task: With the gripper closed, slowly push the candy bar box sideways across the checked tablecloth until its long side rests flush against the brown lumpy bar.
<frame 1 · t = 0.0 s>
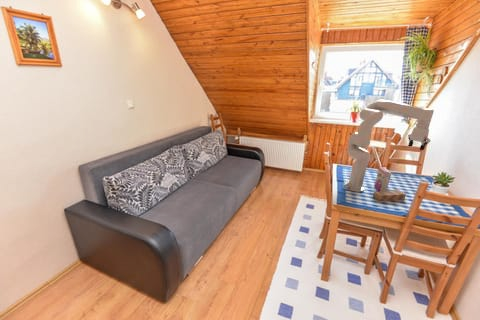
hand: (415, 148, 168), 31 cm above the table, fingers open, 9 cm apart
candy bar box: (379, 189, 171), on the table
brown lumpy bar: (388, 199, 157), on the table
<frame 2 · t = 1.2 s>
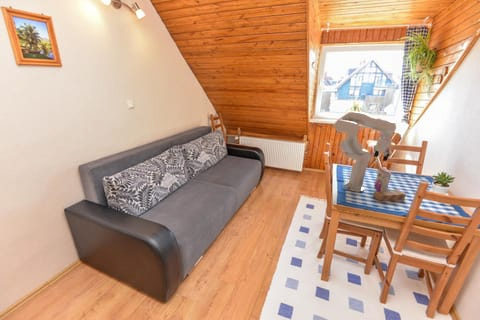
hand: (380, 158, 174), 21 cm above the table, fingers open, 9 cm apart
nothing on the table moved.
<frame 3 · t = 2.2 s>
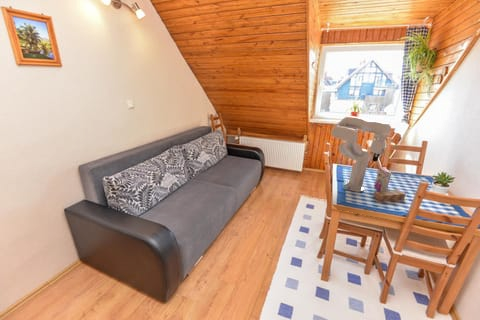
hand: (374, 160, 175), 19 cm above the table, fingers closed
nothing on the table moved.
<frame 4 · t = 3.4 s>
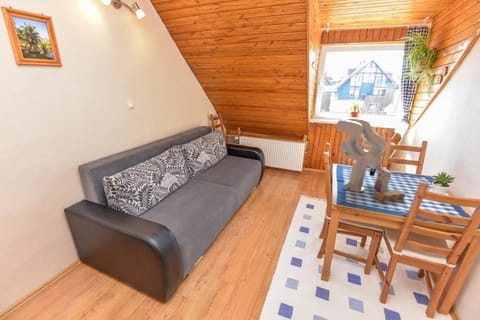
hand: (371, 175, 180), 6 cm above the table, fingers closed
nothing on the table moved.
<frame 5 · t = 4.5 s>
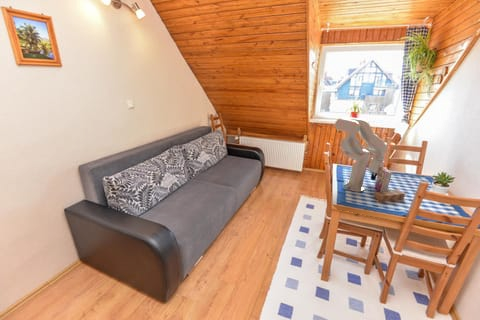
hand: (373, 179, 178), 4 cm above the table, fingers closed
candy bar box: (380, 189, 171), on the table, touching gripper
everything else where it was.
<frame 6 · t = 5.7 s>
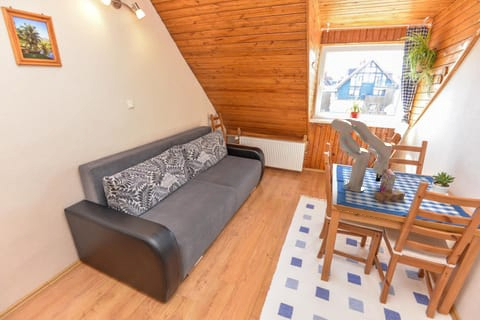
hand: (377, 181, 174), 4 cm above the table, fingers closed
candy bar box: (384, 191, 167), on the table, touching gripper
everything else where it was.
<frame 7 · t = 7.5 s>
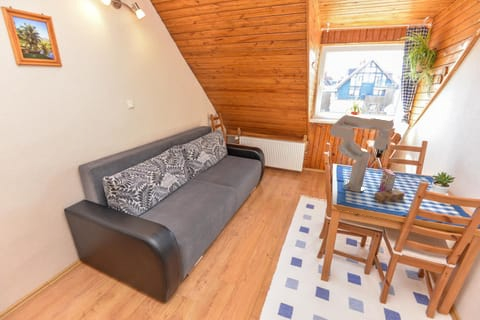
hand: (378, 157, 172), 23 cm above the table, fingers closed
candy bar box: (384, 192, 167), on the table
everything else where it was.
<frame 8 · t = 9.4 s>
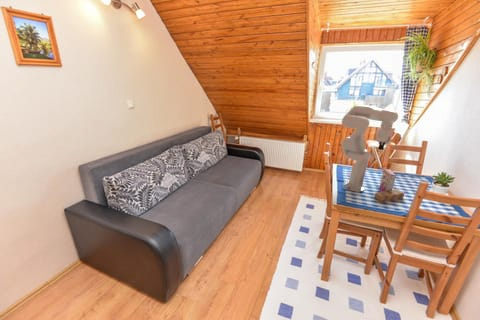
hand: (380, 149, 178), 27 cm above the table, fingers closed
nothing on the table moved.
at the end: candy bar box 0.5 cm from the target spot on the table beside the brown lumpy bar, on the table; candy bar box tilted 0° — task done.
